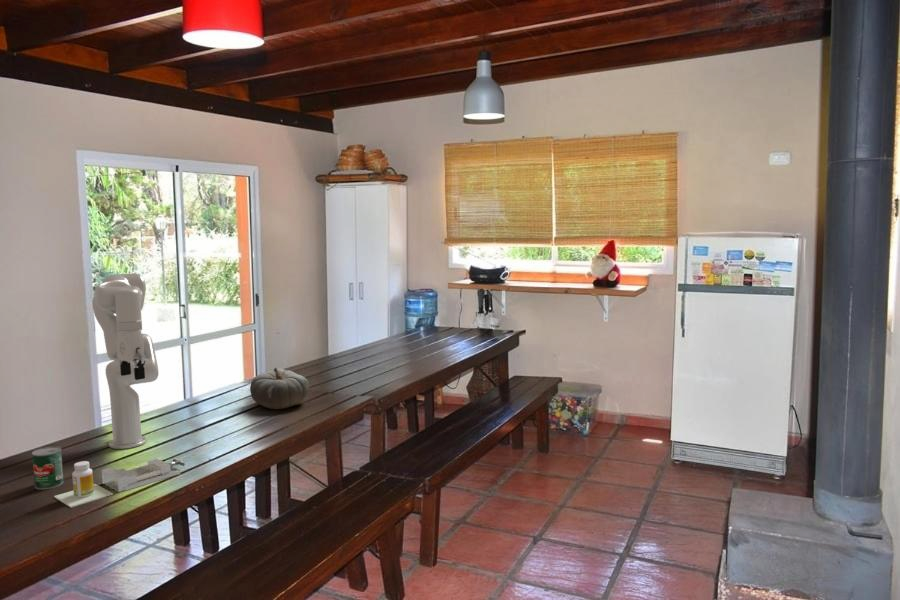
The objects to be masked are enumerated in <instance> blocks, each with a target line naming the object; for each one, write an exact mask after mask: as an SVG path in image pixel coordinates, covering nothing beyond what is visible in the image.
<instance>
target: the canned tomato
mask: <svg viewBox="0 0 900 600" xmlns="http://www.w3.org/2000/svg"><path fill="white" fill-rule="evenodd" d="M31 455H32V468H33V477H34V478H33V481H34V488H35V489H36V490H49V489H54V488H57V487H60V486H62V485H63V484H64V474H63V472H64V471H63V459H62V457H63V456H62V448H61V447H60V446H48V447H46V446H45V447H42V448H38V449H36V450H34V451H32V452H31Z"/></svg>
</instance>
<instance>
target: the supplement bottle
mask: <svg viewBox="0 0 900 600" xmlns="http://www.w3.org/2000/svg"><path fill="white" fill-rule="evenodd" d="M73 469H74V471H73V472H72V473H71V474H72V475H71V478H72V491H74V496H75V497H77V498H82V497H87V496H90V495H92V494H93V493H94V474H93V469H92V468H90V462H89V461H87V460H82V461H78V462H75V463H74V464H73Z"/></svg>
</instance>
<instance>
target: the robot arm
mask: <svg viewBox="0 0 900 600" xmlns="http://www.w3.org/2000/svg"><path fill="white" fill-rule="evenodd" d="M146 285H147V284H146V281H145V278H144V277H143V275H141V274H140V273H117V274H116V273H115V274H109V275H107V276H106V277H105V278H104V279H103V280H102V282H101V283H99V284H98V285H97V286H96V287H95V288H94V296H93V298H92V301H91V303H92V310H93V313H94V317H95V319H96V321H97V324H99V326H100V328H101V329H102V332H103V337H104V338H103V339H104V345H105V349H106V355H107V357H108V358H109V360H111V361H110V362H108V364H107V365H106V367H105V377H106V378H105V379H106V381H107V385H108V390H109V391H108V392H109V401H110V412H111V427H112V432H111V434H112V440H110V441H109V442H108V447H109V448H111V449H115V450H123V449H126V450H127V449H132V448H136V447H139V446H142V445H143V444H145V443H146V442H147V437H146V436H143V435H142V426H141V425H142V424H141V423H142V422H141V410H140V409H141V408H140V407H141V406H140V396H139V393H138V392H137V391H136V390H135V389H133V387H131V386H132V385H139V384H146V383H153V382H155V381H156V380H157V379H158V377H159V366H158V361H157V357H156V351H155V346H154V342H153V339H152V338H151V336H150V335H149V334H148V333H143V332H142V330H143V322H142V310H143V308H144V307H145V306H144V304H145V300H146V299H145V297H146V291H147V290H146V289H147V288H146Z"/></svg>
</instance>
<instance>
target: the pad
mask: <svg viewBox="0 0 900 600" xmlns="http://www.w3.org/2000/svg"><path fill="white" fill-rule="evenodd" d="M93 485H94V493H93V494H92V495H90V496H87V497H82V498H77V497H75V496H74V491H73V490H70V491H67V492H64V493H61V494H57V495H54V496H53V497H54V498H55V499H56V500H58V501H59V502H61V503H63V504H64V505H65V506H67V507H69V508H75V507H77V506H81V505H84V504H85V505H86V504H88V503H90V502H91V503H92V502H94V501H97V500H100V499H104V498H107V496H108V497H110V495H111V496H113V495H114V493H113V492H112V491H109V490H107V489H106V488H104V487H103V486H100V485H98V484H96V483H93Z"/></svg>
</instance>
